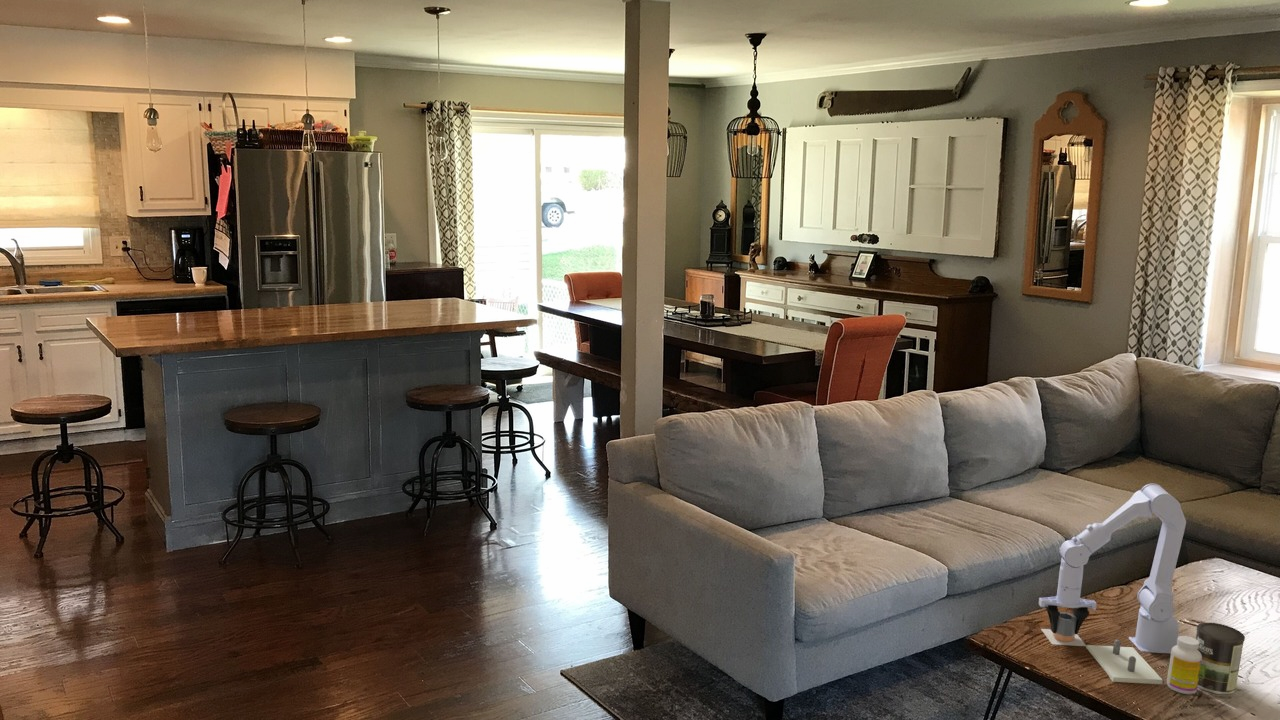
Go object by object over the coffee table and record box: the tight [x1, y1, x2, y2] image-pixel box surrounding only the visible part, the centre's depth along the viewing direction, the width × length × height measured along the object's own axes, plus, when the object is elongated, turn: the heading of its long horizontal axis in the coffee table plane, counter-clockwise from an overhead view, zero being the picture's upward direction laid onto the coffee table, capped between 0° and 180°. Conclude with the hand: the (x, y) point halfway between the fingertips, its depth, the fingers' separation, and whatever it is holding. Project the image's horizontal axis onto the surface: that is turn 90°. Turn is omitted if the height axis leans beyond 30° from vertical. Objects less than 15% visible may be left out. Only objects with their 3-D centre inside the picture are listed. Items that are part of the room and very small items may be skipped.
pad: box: [1040, 628, 1087, 647], centre depth 269 cm, size 9×9×1 cm
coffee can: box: [1195, 622, 1246, 696], centre depth 246 cm, size 10×10×14 cm
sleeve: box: [1053, 611, 1077, 642], centre depth 268 cm, size 5×5×6 cm
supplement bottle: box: [1166, 635, 1202, 695], centre depth 243 cm, size 7×7×13 cm
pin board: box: [1085, 639, 1163, 685], centre depth 254 cm, size 12×17×5 cm
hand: (1064, 632), depth 269 cm, fingers closed on sleeve, 5 cm apart
